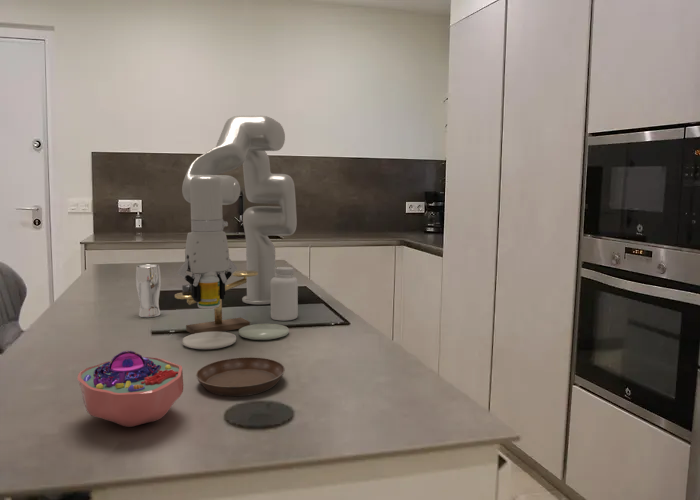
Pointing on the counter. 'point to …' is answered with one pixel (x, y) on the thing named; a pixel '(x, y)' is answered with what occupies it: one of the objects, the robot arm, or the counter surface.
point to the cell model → (131, 388)
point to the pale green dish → (263, 331)
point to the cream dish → (209, 340)
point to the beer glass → (148, 289)
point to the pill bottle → (284, 295)
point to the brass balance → (217, 309)
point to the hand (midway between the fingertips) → (208, 299)
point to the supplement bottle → (209, 291)
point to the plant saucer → (240, 376)
